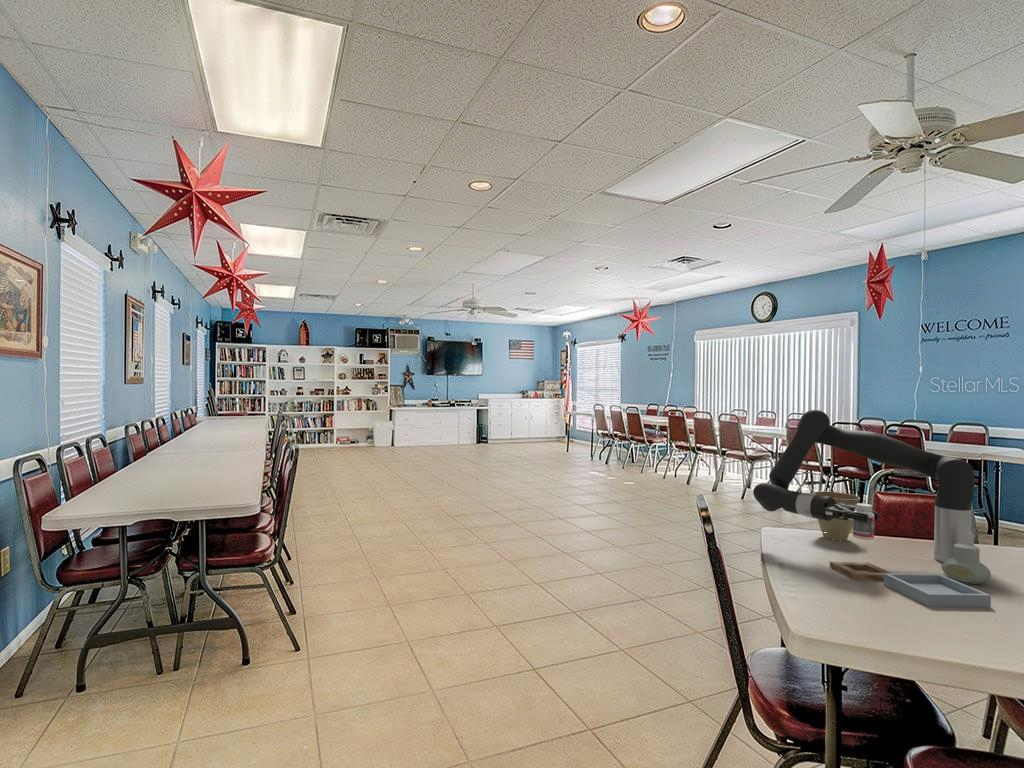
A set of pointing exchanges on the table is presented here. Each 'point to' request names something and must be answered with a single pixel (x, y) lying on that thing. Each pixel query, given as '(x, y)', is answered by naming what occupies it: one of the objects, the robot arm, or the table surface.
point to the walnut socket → (850, 568)
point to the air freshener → (966, 565)
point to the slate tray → (937, 590)
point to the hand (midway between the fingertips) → (872, 517)
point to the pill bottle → (864, 523)
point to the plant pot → (838, 527)
